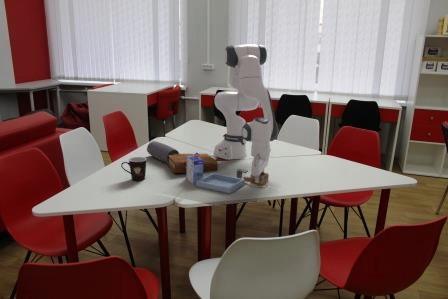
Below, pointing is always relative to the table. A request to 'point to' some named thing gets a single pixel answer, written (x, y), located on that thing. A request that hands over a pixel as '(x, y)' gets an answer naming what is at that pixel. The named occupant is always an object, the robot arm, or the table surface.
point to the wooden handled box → (239, 175)
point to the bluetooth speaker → (160, 151)
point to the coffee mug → (137, 168)
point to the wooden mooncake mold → (262, 178)
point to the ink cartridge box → (194, 168)
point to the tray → (220, 183)
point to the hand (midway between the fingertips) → (259, 179)
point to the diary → (180, 162)
